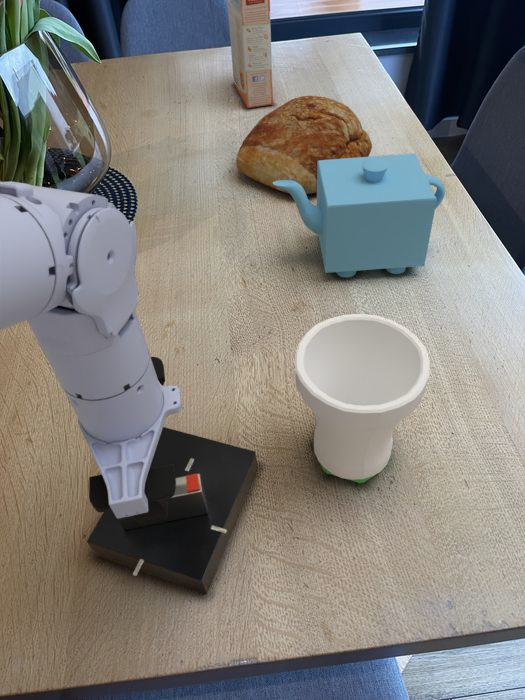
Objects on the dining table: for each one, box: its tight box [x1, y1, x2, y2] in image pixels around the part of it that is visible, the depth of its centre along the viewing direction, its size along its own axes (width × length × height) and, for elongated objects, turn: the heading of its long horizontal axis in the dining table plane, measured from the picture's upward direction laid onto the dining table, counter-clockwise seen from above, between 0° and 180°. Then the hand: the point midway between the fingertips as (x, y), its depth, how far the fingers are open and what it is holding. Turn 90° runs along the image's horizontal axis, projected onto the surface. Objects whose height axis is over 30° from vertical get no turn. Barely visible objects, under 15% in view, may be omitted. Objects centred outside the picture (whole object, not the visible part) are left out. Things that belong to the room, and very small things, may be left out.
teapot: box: [273, 153, 446, 278], centre depth 74 cm, size 22×11×14 cm, turn 92°
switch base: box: [86, 426, 258, 595], centre depth 52 cm, size 14×12×3 cm
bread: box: [236, 95, 373, 195], centre depth 92 cm, size 20×18×10 cm
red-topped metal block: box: [118, 474, 208, 530], centre depth 48 cm, size 8×2×4 cm, turn 101°
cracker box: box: [226, 0, 274, 109], centre depth 111 cm, size 14×6×21 cm, turn 13°
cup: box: [294, 313, 431, 484], centre depth 51 cm, size 11×11×14 cm
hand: (150, 474), depth 45 cm, fingers open, 7 cm apart
